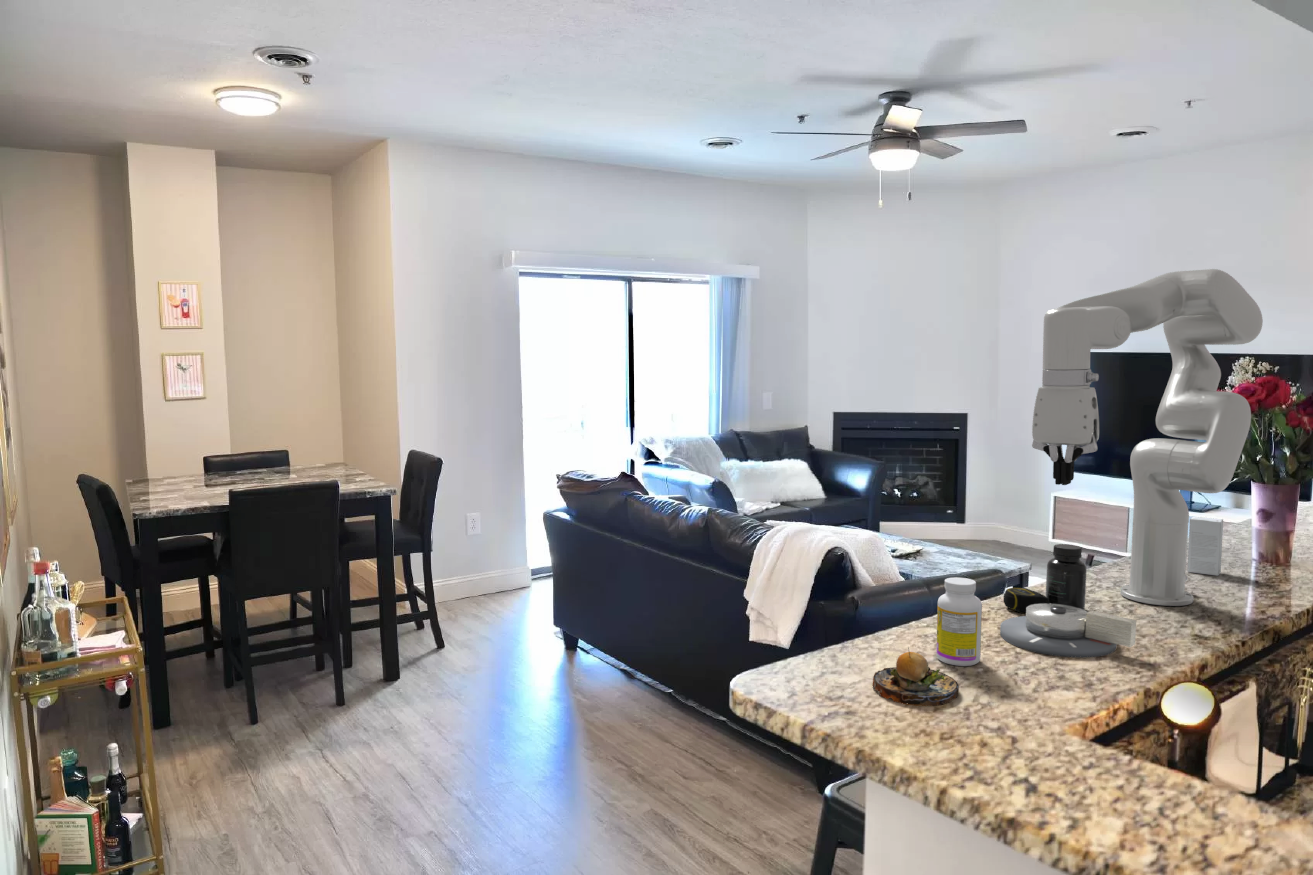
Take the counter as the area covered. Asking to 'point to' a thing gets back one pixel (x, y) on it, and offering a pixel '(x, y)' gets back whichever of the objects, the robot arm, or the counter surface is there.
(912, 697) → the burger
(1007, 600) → the tape measure
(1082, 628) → the dial
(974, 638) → the supplement bottle
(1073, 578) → the supplement bottle
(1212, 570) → the skincare box
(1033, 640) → the base plate
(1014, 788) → the counter surface
